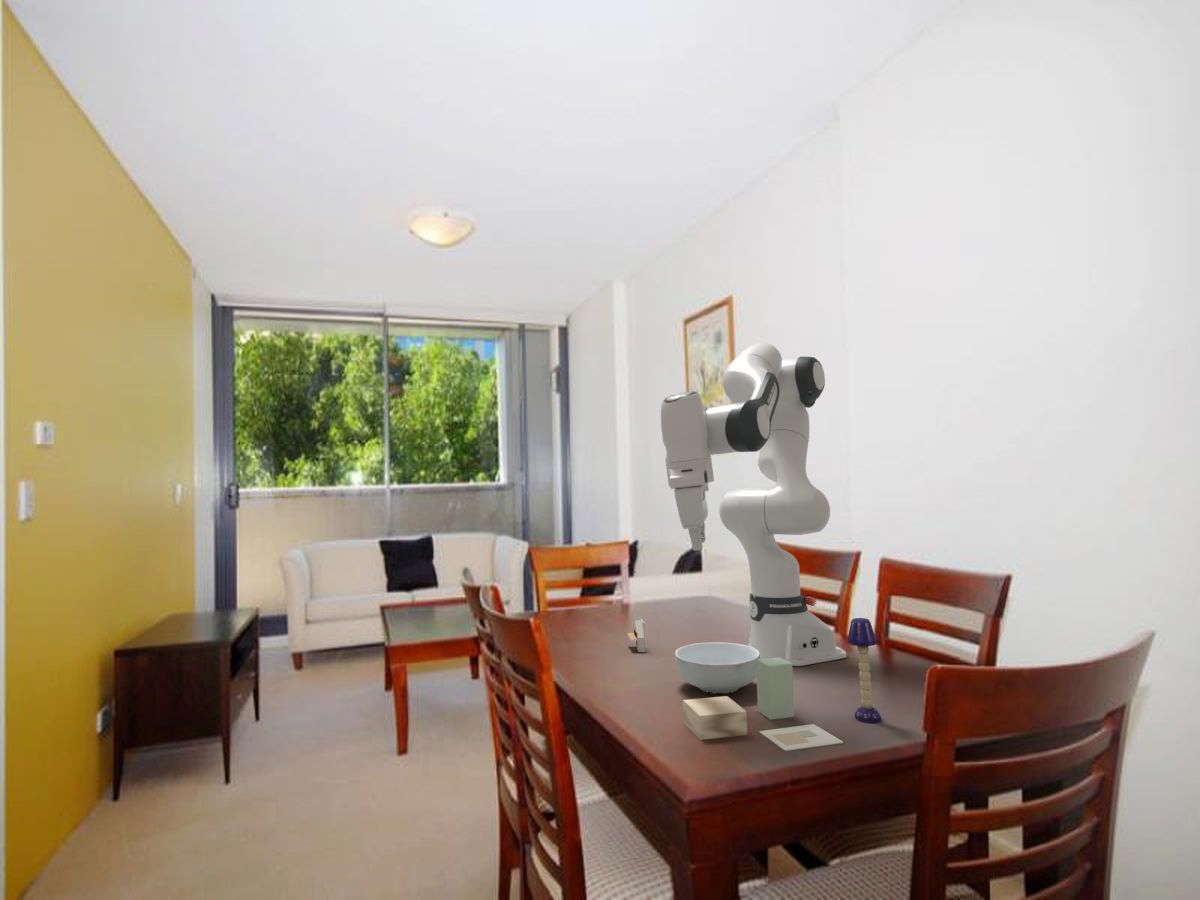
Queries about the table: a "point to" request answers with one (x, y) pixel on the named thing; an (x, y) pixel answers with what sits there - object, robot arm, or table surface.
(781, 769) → the table surface
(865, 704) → the toy lamp
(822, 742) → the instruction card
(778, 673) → the column brick
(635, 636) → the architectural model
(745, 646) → the cereal bowl
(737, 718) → the base brick
